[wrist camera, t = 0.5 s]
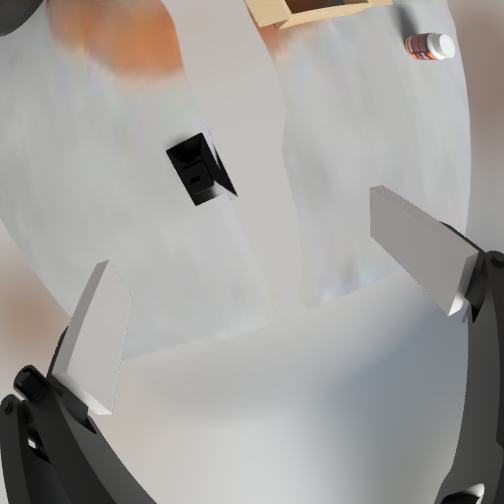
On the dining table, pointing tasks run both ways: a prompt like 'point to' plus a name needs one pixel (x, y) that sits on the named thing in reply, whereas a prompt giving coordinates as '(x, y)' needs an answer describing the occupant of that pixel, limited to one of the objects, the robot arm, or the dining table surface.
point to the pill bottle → (430, 46)
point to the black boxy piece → (200, 170)
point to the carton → (276, 11)
